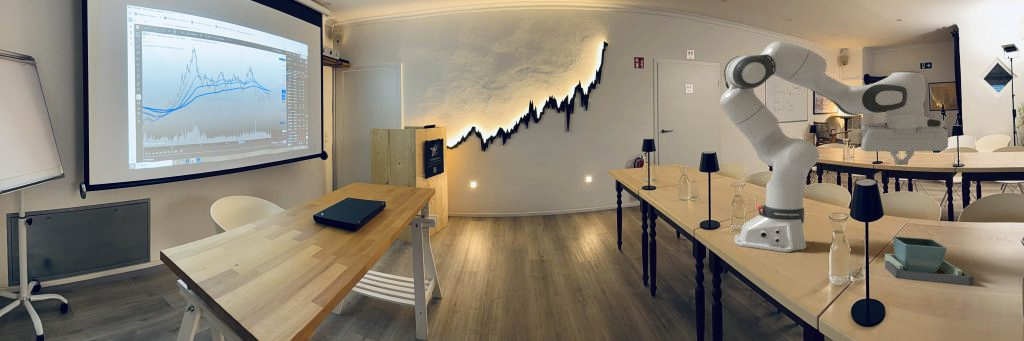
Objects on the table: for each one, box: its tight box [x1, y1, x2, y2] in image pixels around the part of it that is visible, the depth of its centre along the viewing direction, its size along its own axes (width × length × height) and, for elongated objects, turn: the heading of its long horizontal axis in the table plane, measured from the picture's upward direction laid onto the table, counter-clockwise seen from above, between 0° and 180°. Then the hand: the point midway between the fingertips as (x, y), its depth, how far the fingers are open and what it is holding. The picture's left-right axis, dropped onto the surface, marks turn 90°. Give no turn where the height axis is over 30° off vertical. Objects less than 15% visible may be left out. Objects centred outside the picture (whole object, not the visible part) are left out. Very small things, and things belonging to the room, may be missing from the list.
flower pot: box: [892, 236, 947, 273], centre depth 114 cm, size 9×9×9 cm
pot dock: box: [884, 260, 974, 287], centre depth 111 cm, size 15×8×2 cm, turn 63°
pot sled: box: [884, 252, 962, 276], centre depth 114 cm, size 13×13×6 cm
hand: (901, 164), depth 129 cm, fingers closed
